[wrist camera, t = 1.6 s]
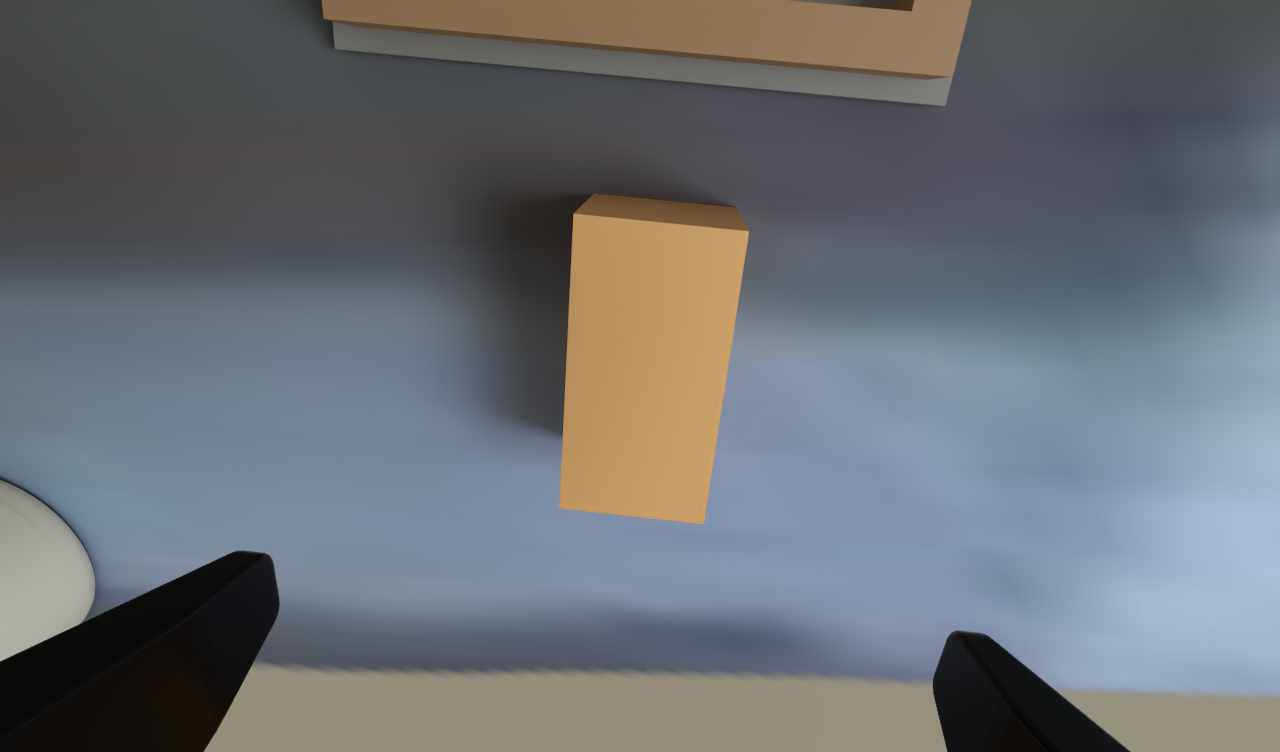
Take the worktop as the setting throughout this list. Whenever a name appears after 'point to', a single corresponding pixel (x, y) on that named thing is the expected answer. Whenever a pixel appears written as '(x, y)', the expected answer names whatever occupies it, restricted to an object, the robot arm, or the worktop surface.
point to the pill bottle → (38, 573)
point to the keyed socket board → (683, 40)
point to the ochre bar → (648, 353)
